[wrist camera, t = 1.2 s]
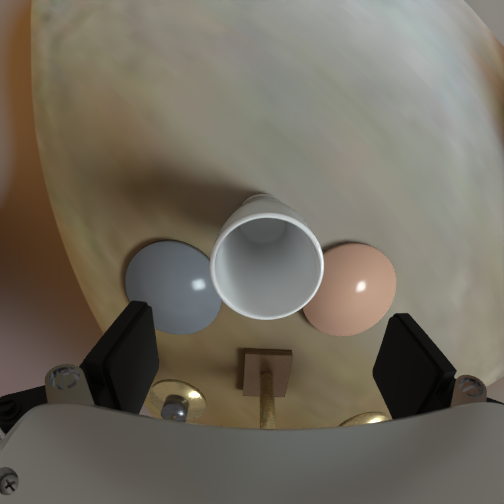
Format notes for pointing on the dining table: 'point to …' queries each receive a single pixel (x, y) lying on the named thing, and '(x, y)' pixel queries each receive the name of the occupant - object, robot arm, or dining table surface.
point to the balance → (255, 384)
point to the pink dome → (352, 290)
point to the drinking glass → (266, 260)
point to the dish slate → (174, 286)
